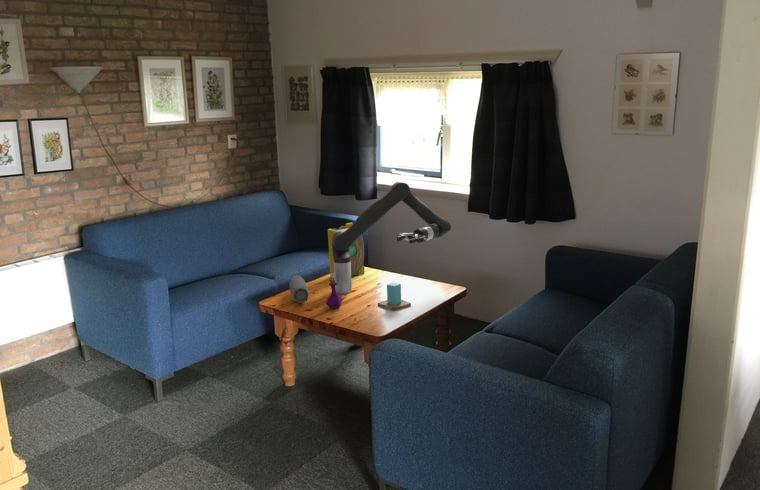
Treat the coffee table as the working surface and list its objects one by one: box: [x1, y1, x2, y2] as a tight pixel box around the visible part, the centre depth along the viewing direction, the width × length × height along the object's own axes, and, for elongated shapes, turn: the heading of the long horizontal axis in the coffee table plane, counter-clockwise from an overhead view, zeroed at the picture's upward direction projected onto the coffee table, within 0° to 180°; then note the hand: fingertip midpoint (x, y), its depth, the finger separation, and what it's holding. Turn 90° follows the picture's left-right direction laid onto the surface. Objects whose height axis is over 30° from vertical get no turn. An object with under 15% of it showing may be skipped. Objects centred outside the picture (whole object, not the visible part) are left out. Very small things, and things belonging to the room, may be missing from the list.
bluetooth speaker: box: [288, 275, 310, 304], centre depth 350 cm, size 23×9×10 cm, turn 12°
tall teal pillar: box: [386, 281, 402, 305], centre depth 334 cm, size 5×5×10 cm
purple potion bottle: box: [325, 273, 344, 310], centre depth 334 cm, size 8×8×18 cm
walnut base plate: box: [377, 299, 412, 312], centre depth 334 cm, size 12×12×8 cm
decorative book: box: [327, 222, 365, 278], centre depth 386 cm, size 20×11×30 cm, turn 132°
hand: (403, 240), depth 336 cm, fingers open, 8 cm apart
